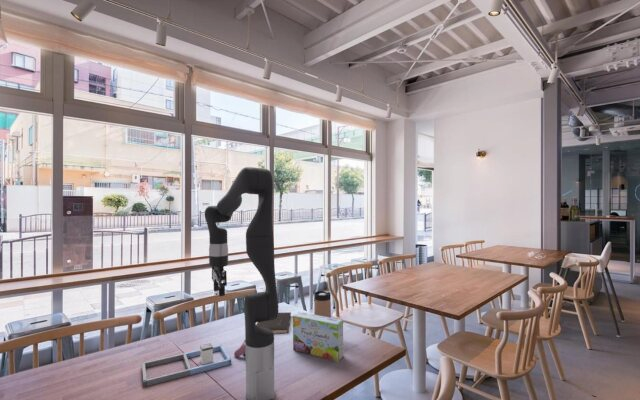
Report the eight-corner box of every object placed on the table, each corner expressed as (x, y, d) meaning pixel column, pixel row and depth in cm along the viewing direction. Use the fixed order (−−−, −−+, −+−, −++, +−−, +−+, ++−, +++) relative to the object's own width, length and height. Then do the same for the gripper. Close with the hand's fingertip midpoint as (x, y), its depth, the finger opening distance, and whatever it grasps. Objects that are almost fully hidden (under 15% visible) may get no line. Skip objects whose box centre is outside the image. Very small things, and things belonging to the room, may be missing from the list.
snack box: (292, 351, 140) (291, 315, 139) (299, 345, 144) (298, 310, 144) (338, 362, 130) (338, 323, 129) (344, 356, 135) (343, 318, 134)
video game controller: (242, 361, 134) (249, 346, 133) (232, 356, 135) (239, 341, 134) (251, 350, 144) (258, 336, 143) (242, 345, 144) (249, 331, 144)
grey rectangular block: (213, 362, 131) (212, 346, 131) (202, 364, 129) (202, 349, 129) (210, 357, 134) (210, 342, 134) (200, 360, 132) (200, 345, 132)
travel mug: (316, 341, 149) (316, 296, 148) (312, 334, 156) (312, 291, 156) (333, 338, 151) (332, 294, 150) (328, 332, 158) (327, 290, 158)
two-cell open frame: (231, 364, 129) (231, 359, 129) (143, 386, 114) (143, 381, 114) (221, 348, 142) (221, 344, 142) (142, 367, 127) (141, 362, 127)
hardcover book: (291, 316, 181) (291, 312, 181) (287, 334, 158) (287, 329, 158) (261, 317, 180) (261, 312, 180) (253, 334, 157) (253, 329, 157)
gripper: (232, 255, 133) (233, 296, 133) (223, 250, 145) (223, 287, 146) (213, 257, 129) (214, 299, 129) (205, 252, 141) (205, 290, 142)
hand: (219, 293), depth 137 cm, fingers open, 8 cm apart
